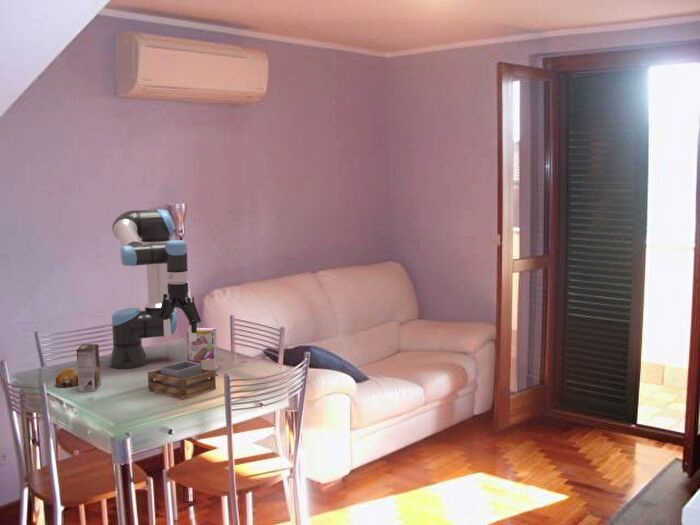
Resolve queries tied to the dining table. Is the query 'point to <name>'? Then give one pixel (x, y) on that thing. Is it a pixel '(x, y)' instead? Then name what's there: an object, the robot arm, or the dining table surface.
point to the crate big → (181, 384)
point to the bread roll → (67, 378)
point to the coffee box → (88, 367)
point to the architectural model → (209, 364)
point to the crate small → (182, 372)
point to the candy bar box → (202, 345)
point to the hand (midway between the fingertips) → (180, 338)
